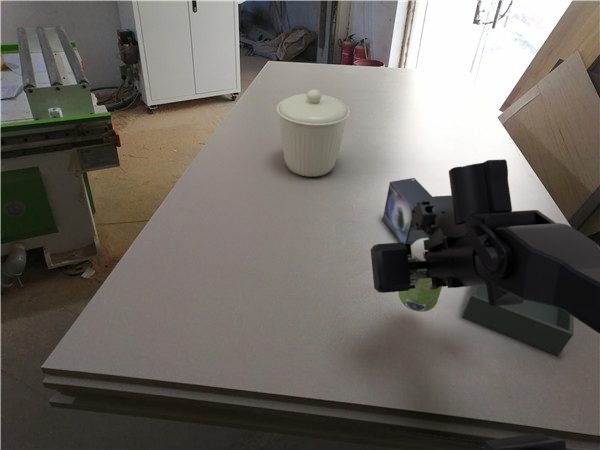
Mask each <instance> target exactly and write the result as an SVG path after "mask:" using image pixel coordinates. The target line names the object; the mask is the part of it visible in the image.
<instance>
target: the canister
mask: <svg viewBox="0 0 600 450" xmlns="http://www.w3.org/2000/svg"><path fill="white" fill-rule="evenodd" d="M276 113H277V114H278V116H279V124H280V134H281V144H282V150H283V157H284V163H285V165H286V166H287V168H288V169H289V170H290V171H291V172H292V173H294V174H296V175H299V176H302V177H307V178H308V177H310V178H315V177H320V176H321V177H322V176H325V175H326V174H328V173H330V172H331V171H332V170H333V169H334V167H335V166H336V163H337V160H338V155H339V152H340V149H341V145H342V140H343V135H344V130H345V126H346V122H347V119H348V118H349V117H350V115H351V110H350V108H349V106H348V105H347V104H345V103H344V102H343V101H341V100H340V99H337V98H336V97H333V96H330V95H326V94H322V93H321V91H320V90H318V89H310V90H309V91H307V93H299V94H295V95H291V96H289V97H287V98H285V99H283V100H281V101H280V102H278V104H277V105H276Z"/></svg>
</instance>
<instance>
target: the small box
mask: <svg viewBox="0 0 600 450" xmlns="http://www.w3.org/2000/svg"><path fill="white" fill-rule="evenodd" d="M387 190H388V191H387V195H386V200H385V205H384V210H383V215H382V222H384V224H385V225H386V227H387V228H388V229H389V231H390V232H391V233H392V234H393V236H394V237H395V238H396V240H397V241H398V243H401V242H404V244H411V245H412V244H413V243H414V242H415V241H416V240H418V239H421V238H429V237H428V234H427V235H426V234H425V233H424V231H422V230H416V229H415V228H414V224H413V220H412V217H411V211H412V210H413V208H414V207H415V206H417V203H418V202H422V201H423V200H426V199H431V198H432V197H433V196H432V194H431V193H429V191H428V190H427V189H426V187H424V186H423V185H422V183H420V182H419V181H418V180H417V179H416V178H415V177H411V178H405V179H404V178H403V179H399V180H392V181H389V184H388V189H387Z"/></svg>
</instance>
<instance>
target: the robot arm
mask: <svg viewBox="0 0 600 450" xmlns="http://www.w3.org/2000/svg"><path fill="white" fill-rule="evenodd" d="M448 178H449V185H450V186H449V187H450V194H451V195H435V196H432V198H431V199H426V200H423V201H422V202H418V203H417V206H415V207H414V208H413V210H412V211H411V217H412V220H413V224H414V228H415V229H416V230H422V231H424V233H425V234H426V235H427V234H428V237H429V239H427V240H423V242H424V249H425V250H428V251H425V252H423V256H424V259H425V261H417V262H416V260H415V258H413V259H412V254H411V244H404V242H401V243H400V242H388V243H386V242H385V243H376V244H374V245H373V246H372V247H371V248H370V258H371V268H372V278H373V280H372V281H373V289H374V290H375V291H377V292H378V293H382V294H385V293H387V294H388V293H397V292H398V293H399V291H409V289H415V284H417V282H418V280H419V279H426V278H431V280H432V287H442V288H443V287H447V288H448V289H449V288H450V289H453V288H467V287H471V286H481V287H487V294H488V302H489V305H490V306H491V307H495V306H506V305H517V304H523V302H524V300H528V301H533V302H537V303H542V304H546V305H550V306H554V307H557V308H559V309H561V310H563V311H566V312H567V313H569V314H570V315H572V316H573V317H574V319H577V321H579V322H581V323H582V324H584V325H585V326H587V327H588V328H590V329H592V330H593V331H594V332H596V333H598V334H599V335H600V246H599V244H597V242H595V241H594V240H592V239H590V237H588V236H586V235H585V234H583V233H581V232H580V231H578V230H577V229H576V228H574V227H572V226H571V225H568V224H565V223H561V222H556V221H554V220H553V219H551V218H550V217H548V216H547V215H546V214H544V213H543V212H541V211H539V210H538V209H528V210H513V206H512V199H511V192H510V185H509V169H508V161H507V160H506V159H504V158H503V159H488V160H485V161H483V162H478V163H472V164H467V165H464V166H454V167H452V168H451V169H448ZM417 269H426V270H427V271H422V272H421V271H419V273H418V271H417ZM414 273H416V274H414ZM482 445H483V446H482V447H481V446H480V447H477V448H476V449H475V450H567V444H566V440H565V439H553V438H550V437H548V436H546V435H545V434H544V433H542V432H539V433H538V432H537V433H530V434H524V435H523V434H522V435H517V436H516V435H515V436H510V437H502V438H494V439H488V440H482Z"/></svg>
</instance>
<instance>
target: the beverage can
mask: <svg viewBox="0 0 600 450" xmlns="http://www.w3.org/2000/svg"><path fill="white" fill-rule="evenodd" d="M427 239H429V238H421V239H418V240H416V241H415V242H414V243H413V244H412V245H411V254H412V259H413V258H415V260H416V262H417V261H425V259H424V256H423V252H425V251H428V250H425V249H424V242H423V240H427ZM417 271H418V273H419V271H421V272H422V271H427V270H426V269H417ZM414 274H416V273H414ZM442 288H443V287H432V280H431V278H426V279H419V280H418V282H417V284H415V289H409V291H399V292H398V297H399V298H398V299H399V300H400V302H401V303H402V304H403V305H404V306H405V307H406V308H407V309H409V310H411V311H414V312H419V313H422V312H424V313H425V312H428V311H431V310H432V309H434V308H435V307H436V306H437V304H438V301H439V298H440V295H441V292H442Z"/></svg>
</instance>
